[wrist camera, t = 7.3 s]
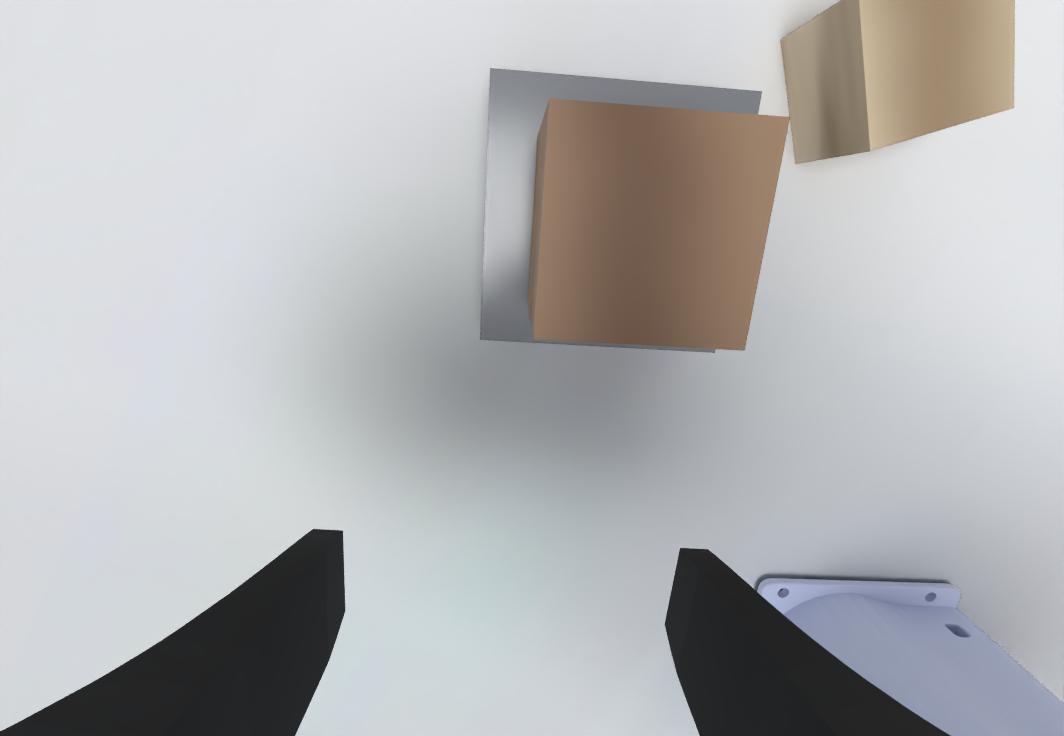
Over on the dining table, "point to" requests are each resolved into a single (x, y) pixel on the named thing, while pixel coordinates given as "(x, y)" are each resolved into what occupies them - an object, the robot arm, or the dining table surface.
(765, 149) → the walnut cube
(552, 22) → the dining table surface
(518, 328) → the slate base
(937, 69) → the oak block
